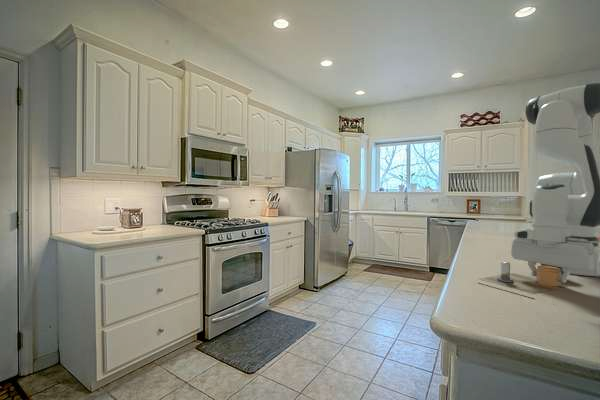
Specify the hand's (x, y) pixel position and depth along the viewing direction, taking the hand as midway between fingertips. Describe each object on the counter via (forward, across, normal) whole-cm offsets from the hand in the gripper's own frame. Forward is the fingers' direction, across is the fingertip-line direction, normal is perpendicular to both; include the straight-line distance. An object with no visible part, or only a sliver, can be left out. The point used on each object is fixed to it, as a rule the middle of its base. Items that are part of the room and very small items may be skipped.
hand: (548, 279), depth 90 cm
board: (+3, +4, +6) cm, 8 cm away
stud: (+1, +7, +10) cm, 12 cm away
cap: (+1, 0, 0) cm, 1 cm away
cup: (+3, +3, -10) cm, 11 cm away
